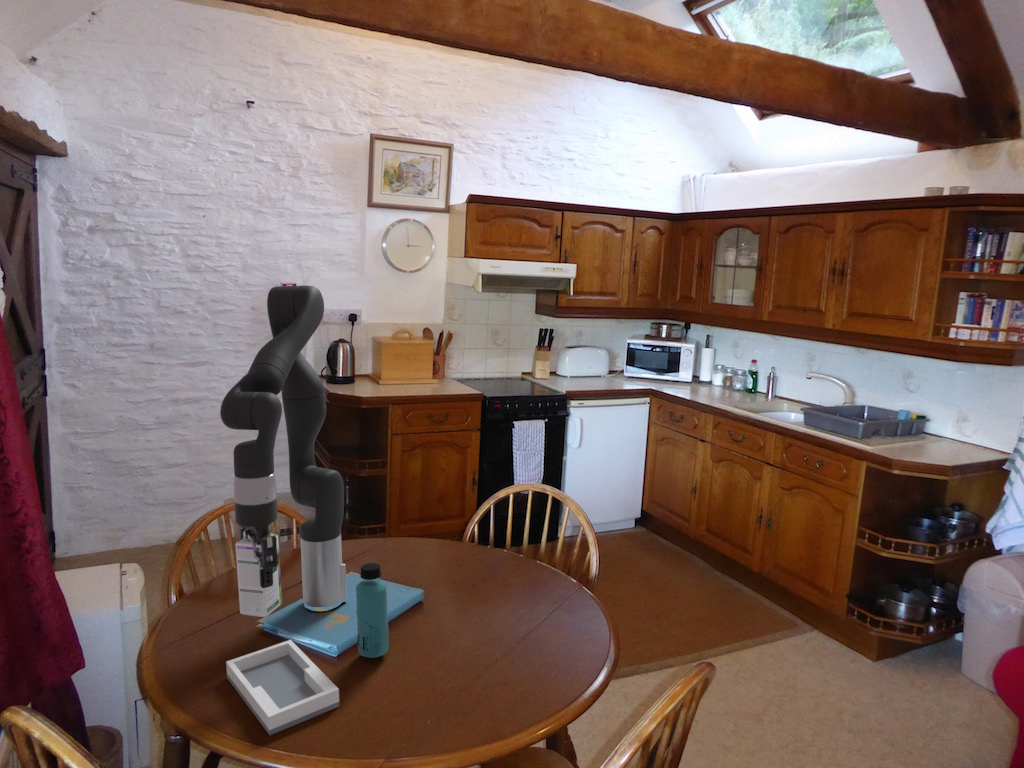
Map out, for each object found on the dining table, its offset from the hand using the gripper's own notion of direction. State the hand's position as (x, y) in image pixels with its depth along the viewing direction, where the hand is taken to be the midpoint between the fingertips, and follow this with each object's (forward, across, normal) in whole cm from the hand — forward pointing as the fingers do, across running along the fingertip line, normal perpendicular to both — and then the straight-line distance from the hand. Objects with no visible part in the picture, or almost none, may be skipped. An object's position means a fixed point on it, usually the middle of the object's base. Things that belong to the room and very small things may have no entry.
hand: (259, 579), depth 136 cm
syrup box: (+6, 0, 0) cm, 6 cm away
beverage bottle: (+20, -6, -21) cm, 30 cm away
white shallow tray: (+21, -7, -1) cm, 22 cm away
